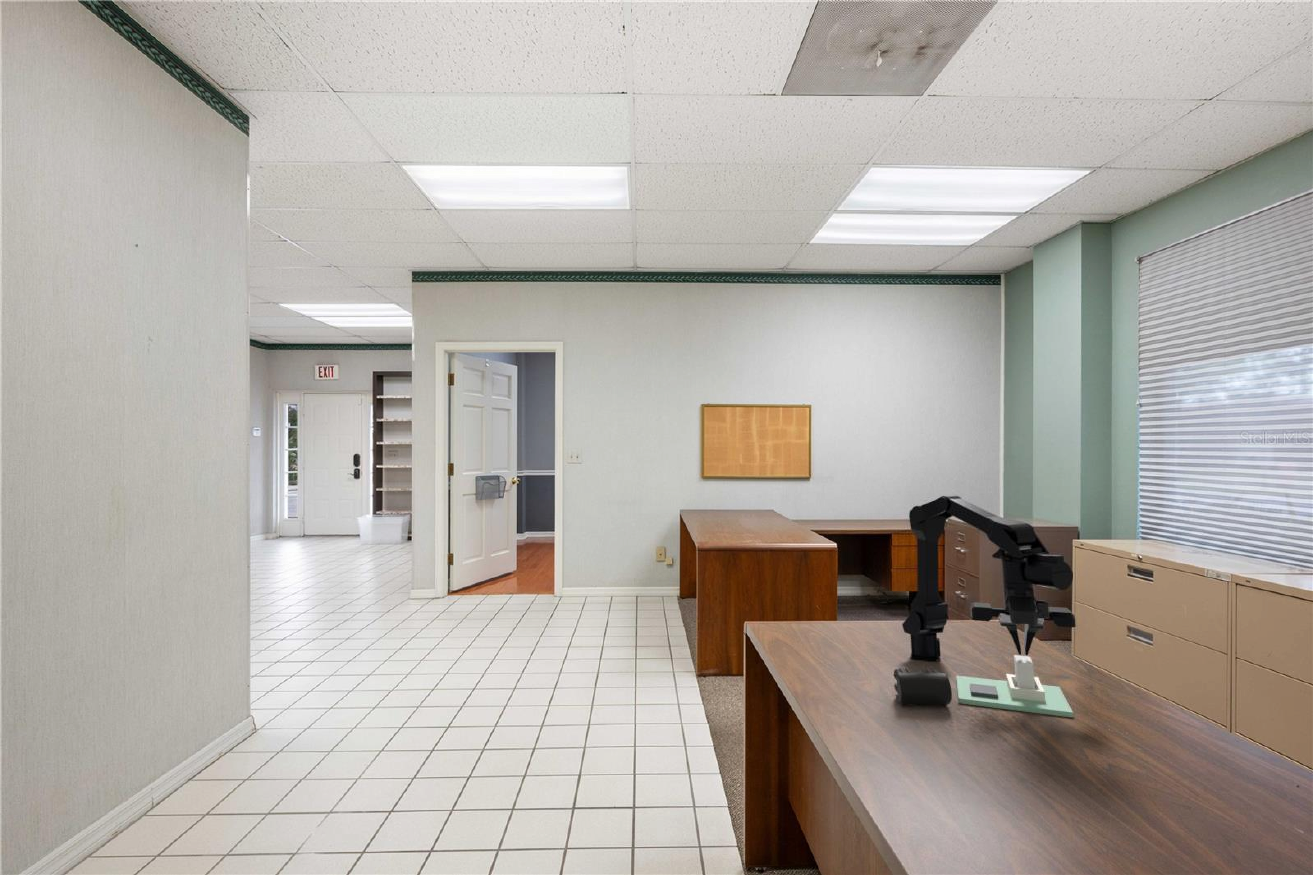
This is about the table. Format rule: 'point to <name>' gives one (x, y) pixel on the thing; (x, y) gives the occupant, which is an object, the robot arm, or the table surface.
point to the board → (1013, 696)
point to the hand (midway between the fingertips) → (1023, 654)
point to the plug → (1024, 672)
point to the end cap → (922, 688)
